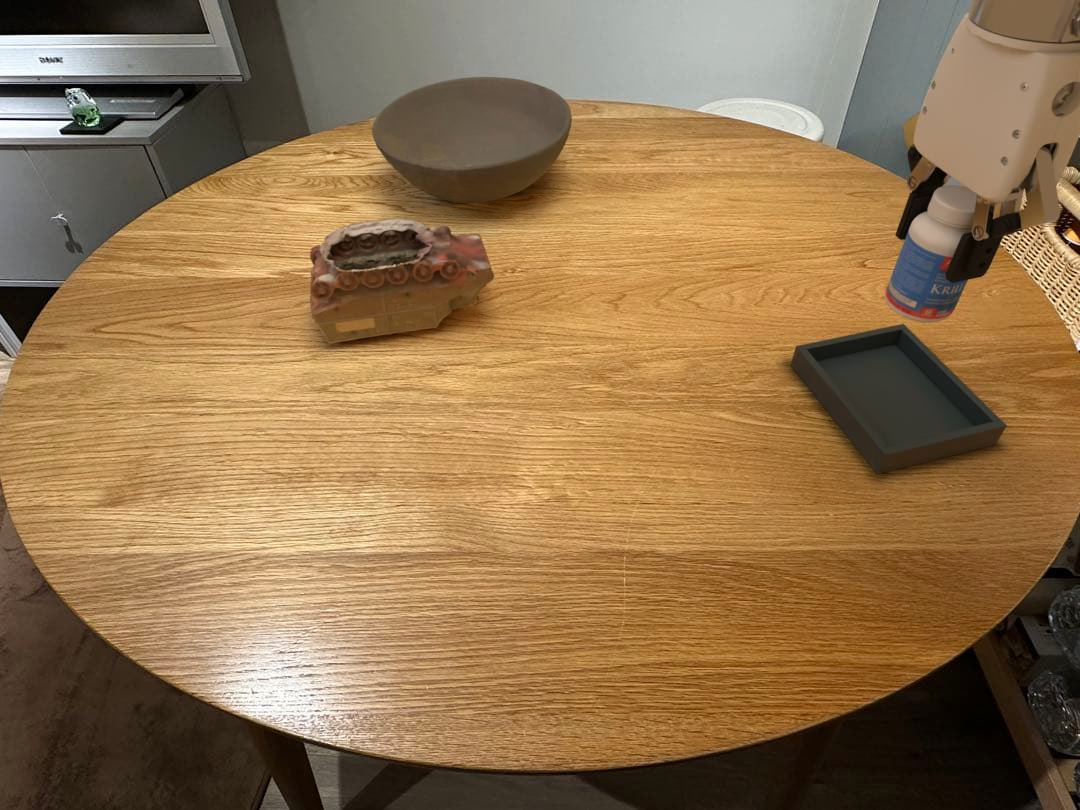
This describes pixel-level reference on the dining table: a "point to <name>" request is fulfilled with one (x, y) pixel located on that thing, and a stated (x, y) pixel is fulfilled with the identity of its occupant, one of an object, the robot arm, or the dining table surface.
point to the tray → (895, 398)
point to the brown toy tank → (393, 277)
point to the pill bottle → (931, 258)
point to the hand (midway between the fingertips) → (938, 254)
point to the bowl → (474, 136)
